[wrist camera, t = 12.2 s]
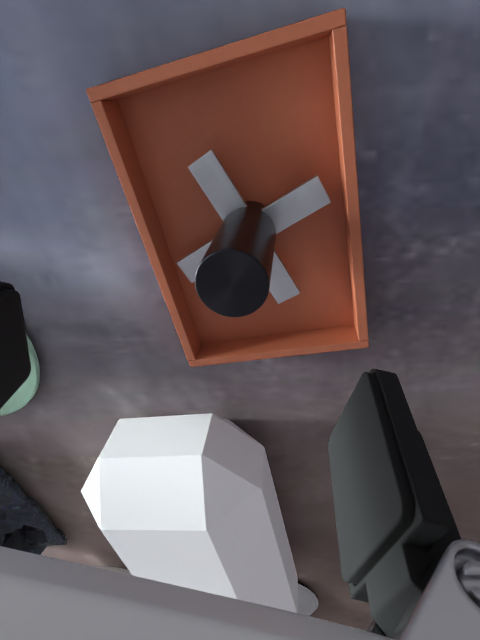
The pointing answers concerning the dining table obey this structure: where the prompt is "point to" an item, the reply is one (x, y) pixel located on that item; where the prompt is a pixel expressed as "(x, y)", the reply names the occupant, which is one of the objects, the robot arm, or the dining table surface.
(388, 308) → the dining table surface
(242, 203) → the blade
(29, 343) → the lid
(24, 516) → the dark slate chunk
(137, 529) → the crystal
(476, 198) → the dining table surface
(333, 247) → the tray
